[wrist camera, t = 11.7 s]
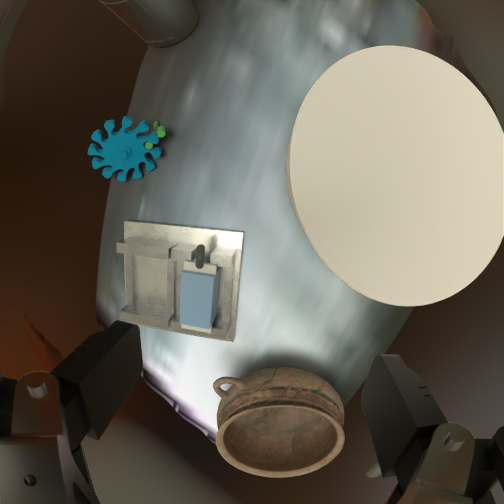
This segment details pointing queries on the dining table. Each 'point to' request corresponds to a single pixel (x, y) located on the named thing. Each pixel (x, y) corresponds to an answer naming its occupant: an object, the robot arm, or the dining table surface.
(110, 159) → the gear
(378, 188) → the plate stack
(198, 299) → the block
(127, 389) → the robot arm
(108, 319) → the dining table surface
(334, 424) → the cooking pot
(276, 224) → the dining table surface
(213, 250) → the plate
